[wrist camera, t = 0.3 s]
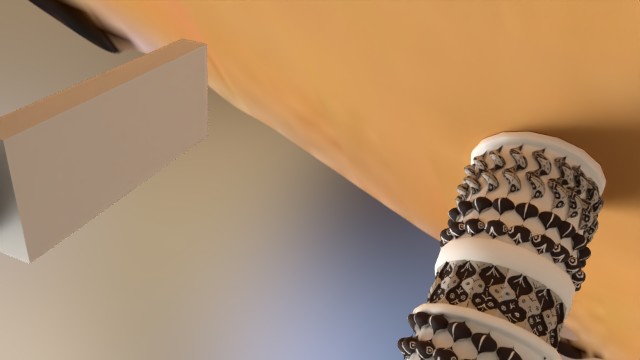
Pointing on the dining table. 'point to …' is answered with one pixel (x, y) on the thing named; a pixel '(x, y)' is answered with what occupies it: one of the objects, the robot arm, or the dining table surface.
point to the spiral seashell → (510, 252)
